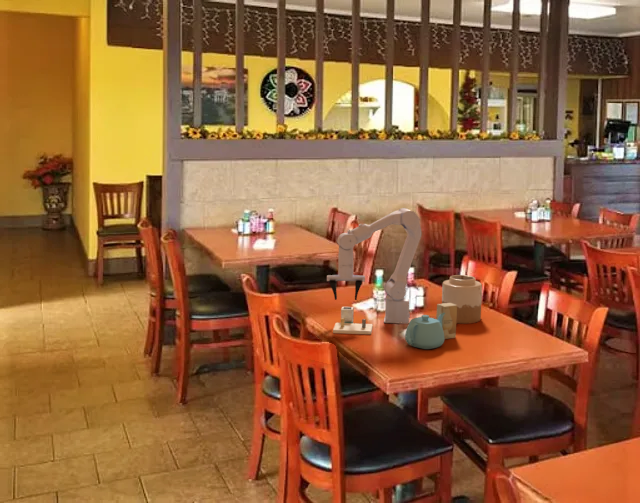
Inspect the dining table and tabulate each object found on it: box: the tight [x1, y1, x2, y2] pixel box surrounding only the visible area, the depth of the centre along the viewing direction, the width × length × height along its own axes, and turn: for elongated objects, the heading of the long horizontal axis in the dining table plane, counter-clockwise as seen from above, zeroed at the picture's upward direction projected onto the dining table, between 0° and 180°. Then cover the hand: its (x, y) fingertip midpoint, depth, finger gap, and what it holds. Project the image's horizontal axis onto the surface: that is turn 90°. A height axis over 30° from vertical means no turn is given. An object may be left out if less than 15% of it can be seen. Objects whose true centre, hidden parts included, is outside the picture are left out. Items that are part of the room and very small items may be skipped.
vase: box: [441, 274, 483, 325], centre depth 293 cm, size 15×15×17 cm
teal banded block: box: [340, 306, 354, 323], centre depth 287 cm, size 4×4×6 cm
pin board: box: [332, 317, 374, 335], centre depth 278 cm, size 14×10×4 cm
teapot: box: [404, 313, 446, 350], centre depth 259 cm, size 13×11×18 cm
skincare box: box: [435, 303, 457, 340], centre depth 268 cm, size 6×4×12 cm
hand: (345, 299), depth 286 cm, fingers open, 7 cm apart
